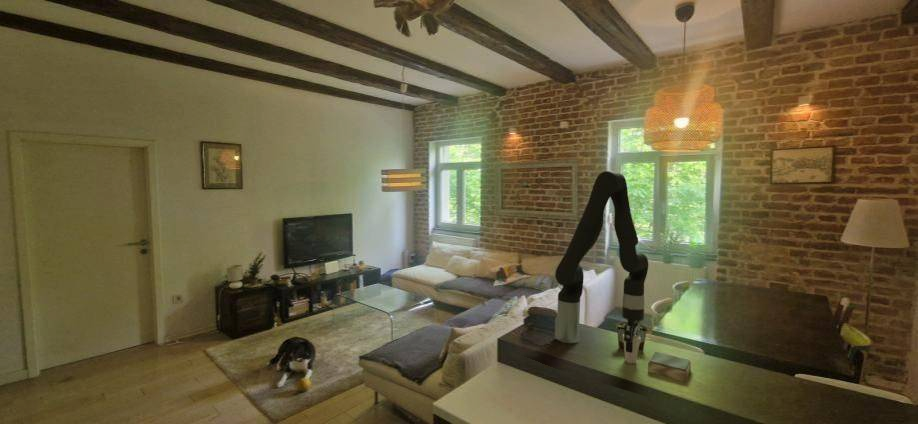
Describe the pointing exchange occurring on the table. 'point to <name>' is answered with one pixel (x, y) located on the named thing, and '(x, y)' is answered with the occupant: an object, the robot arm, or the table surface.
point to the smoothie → (633, 356)
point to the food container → (620, 330)
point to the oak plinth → (670, 366)
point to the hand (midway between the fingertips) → (631, 348)
